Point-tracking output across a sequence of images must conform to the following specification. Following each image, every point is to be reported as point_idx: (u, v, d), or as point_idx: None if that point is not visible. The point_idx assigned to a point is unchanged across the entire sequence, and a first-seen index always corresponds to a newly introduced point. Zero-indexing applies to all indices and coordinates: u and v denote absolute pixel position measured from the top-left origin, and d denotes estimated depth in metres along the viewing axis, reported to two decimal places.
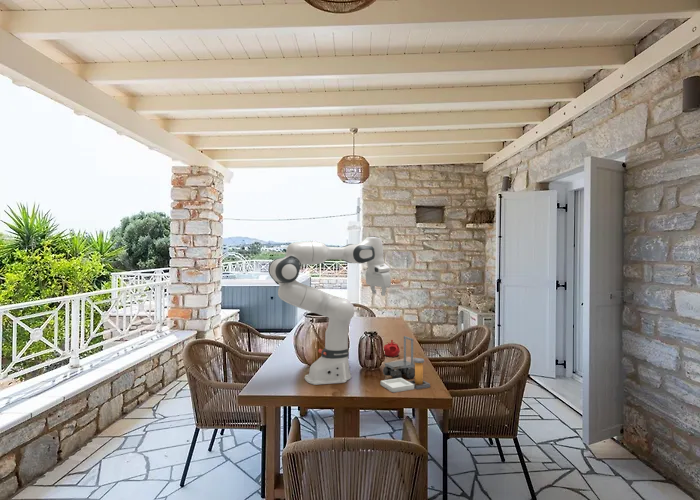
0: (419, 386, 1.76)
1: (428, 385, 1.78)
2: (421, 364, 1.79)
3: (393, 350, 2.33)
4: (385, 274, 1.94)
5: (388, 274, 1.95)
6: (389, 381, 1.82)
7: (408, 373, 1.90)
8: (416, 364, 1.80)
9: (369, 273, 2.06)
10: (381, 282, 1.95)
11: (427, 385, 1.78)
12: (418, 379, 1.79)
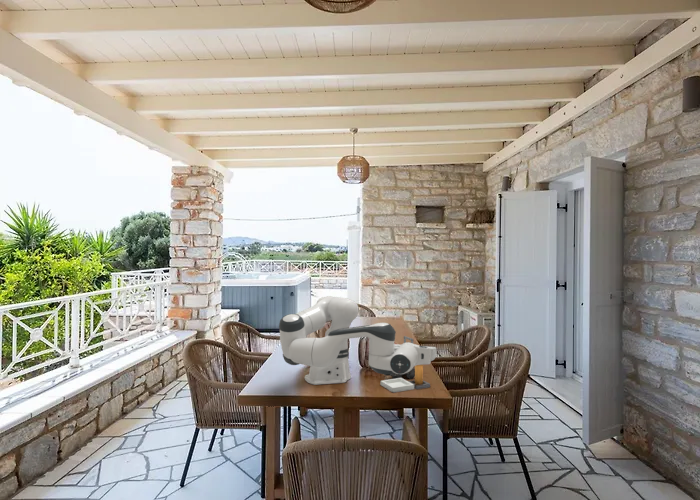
0: (419, 386, 1.76)
1: (428, 385, 1.78)
2: None
3: None
4: (433, 355, 1.56)
5: (432, 351, 1.56)
6: (389, 381, 1.82)
7: (408, 373, 1.90)
8: None
9: None
10: None
11: (427, 385, 1.78)
12: (418, 379, 1.79)
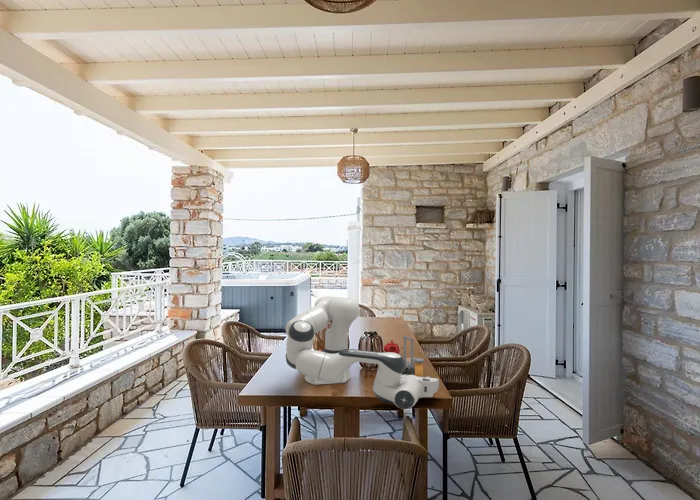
0: None
1: None
2: (421, 364, 1.79)
3: (393, 350, 2.33)
4: (435, 388, 1.60)
5: (435, 383, 1.60)
6: None
7: (408, 373, 1.90)
8: (416, 364, 1.80)
9: None
10: None
11: None
12: None
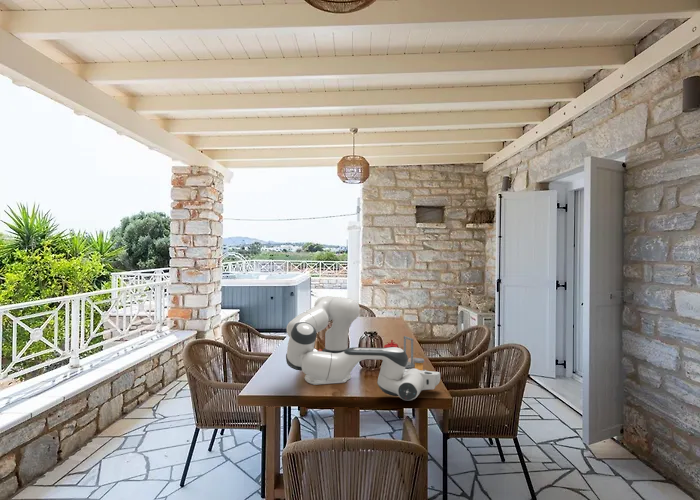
0: None
1: None
2: (421, 364, 1.79)
3: None
4: (437, 381, 1.68)
5: (437, 376, 1.68)
6: None
7: None
8: (416, 364, 1.80)
9: None
10: None
11: None
12: None
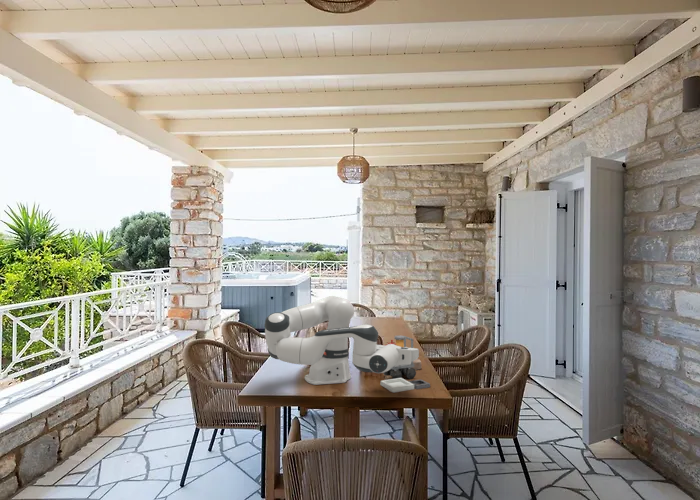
0: (419, 386, 1.76)
1: (428, 385, 1.78)
2: (401, 341, 1.78)
3: None
4: (414, 356, 1.67)
5: (414, 352, 1.67)
6: (389, 381, 1.82)
7: (408, 373, 1.90)
8: (397, 341, 1.79)
9: None
10: None
11: (427, 385, 1.78)
12: None
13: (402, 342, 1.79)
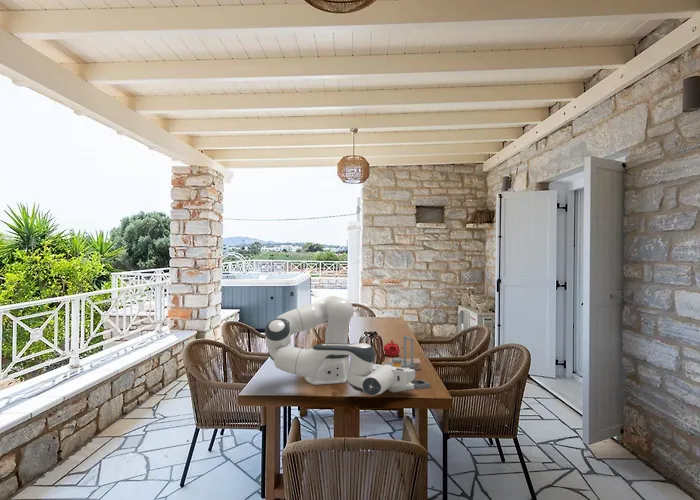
0: (419, 386, 1.76)
1: (428, 385, 1.78)
2: (398, 364, 1.77)
3: (393, 350, 2.33)
4: (409, 378, 1.66)
5: (409, 373, 1.66)
6: None
7: None
8: (394, 364, 1.78)
9: None
10: None
11: (427, 385, 1.78)
12: None
13: (399, 365, 1.77)
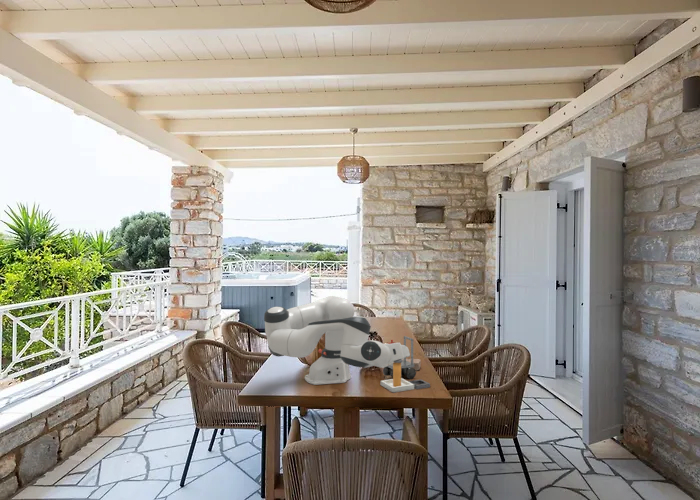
0: (419, 386, 1.76)
1: (428, 385, 1.78)
2: (399, 364, 1.77)
3: None
4: (405, 351, 1.56)
5: (404, 347, 1.57)
6: (389, 381, 1.82)
7: (408, 373, 1.90)
8: (394, 364, 1.78)
9: None
10: None
11: (427, 385, 1.78)
12: (395, 378, 1.77)
13: (399, 365, 1.77)
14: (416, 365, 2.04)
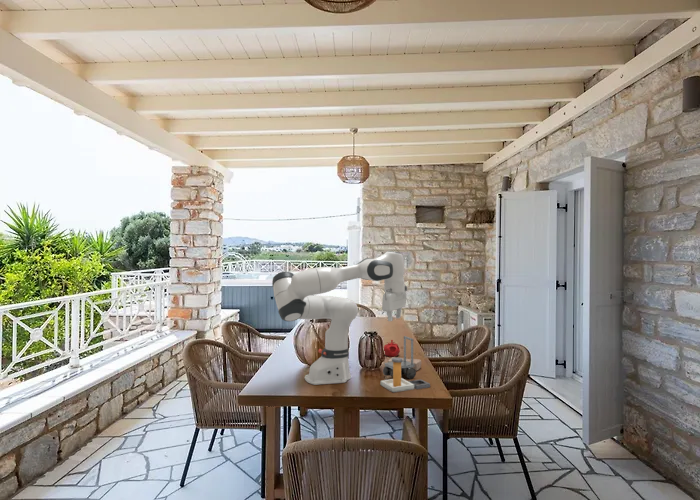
0: (419, 386, 1.76)
1: (428, 385, 1.78)
2: (399, 364, 1.77)
3: (393, 350, 2.33)
4: None
5: None
6: (389, 381, 1.82)
7: (408, 373, 1.90)
8: (394, 363, 1.78)
9: (394, 296, 1.70)
10: (403, 302, 1.81)
11: (427, 385, 1.78)
12: (395, 378, 1.77)
13: (399, 365, 1.78)
14: (414, 365, 2.04)
